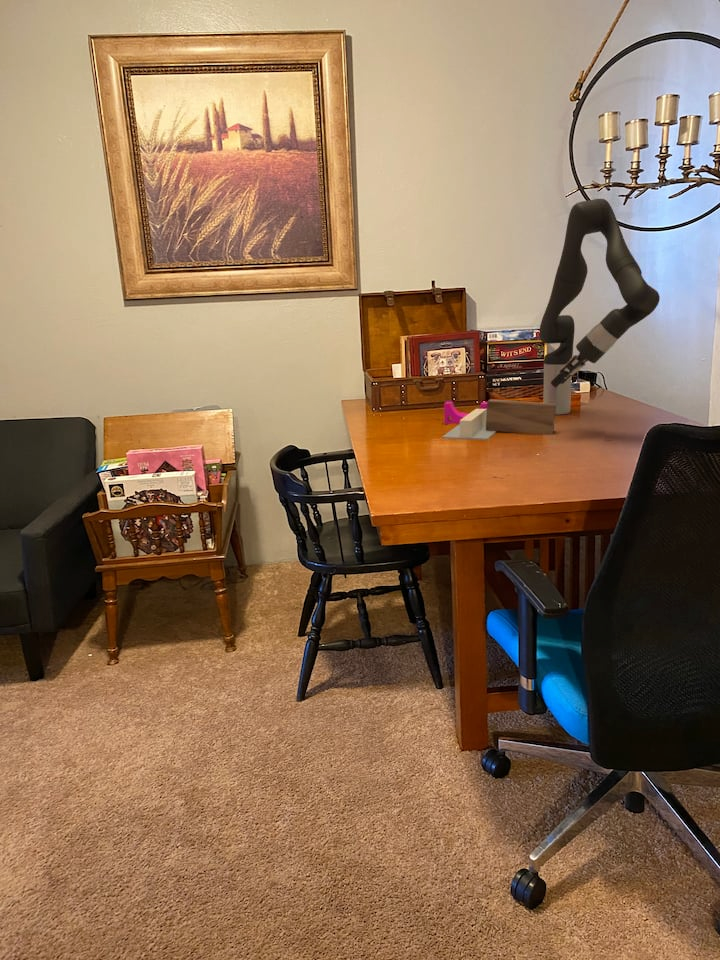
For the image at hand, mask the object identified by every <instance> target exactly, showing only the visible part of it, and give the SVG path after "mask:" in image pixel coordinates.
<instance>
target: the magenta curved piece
mask: <svg viewBox="0 0 720 960" xmlns="http://www.w3.org/2000/svg"><path fill="white" fill-rule="evenodd" d="M443 403H444V404H443V407H444V410H443V412H444V413H443V414H444V415H443V416H444V417H443V418H444V425H445V424H448V425H449V424H460V420H461V419H462V418H464V417H465V416H467V415H468V414H469V413H466V412H463V411H462V412H460V411H458V410H457V409H456V407H455V405H454V401H445V402H443ZM479 409H487V401H482V402H480V407H479Z"/></svg>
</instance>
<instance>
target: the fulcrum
mask: <svg viewBox="0 0 720 960" xmlns="http://www.w3.org/2000/svg"><path fill="white" fill-rule="evenodd" d="M467 414H468V415H467V416H465V417H464V418H462V419H461V420H460V423H458V425H456V426H455V427H454V428H452V429H451V430H449V431H448V432H447V433H446V434H443V436H441V437H442V439H449V440H450V439H453V440H477V441H478V440H479V441H481V440H482V441H488V440H490V438H492V437H493V436H494V435H495V434H496V433H497V432H498V431H490V430H486V416H487V409H480V408H475V409H474V410H472V411H471V412H470V413H467Z"/></svg>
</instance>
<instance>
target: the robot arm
mask: <svg viewBox="0 0 720 960" xmlns="http://www.w3.org/2000/svg"><path fill="white" fill-rule="evenodd" d="M595 233H601V234H602V235H603V237H604V238H605V240H606V251H605V252H606V253H605V264H606V266H607V269H608V271H609V273H610V274H611V276H612V278H613V279H614V281H615V283H616V284H617V287H618V289H619V292H620V294H621V298H622V299H623V300H624V303H626V305H625V306H623V307H622V308H614V309H612V310H611V311H609V312H608V313H607V315H605V317H603V318H602V320H601V321H600V322H599V323H598V324H596V325H595V326H594V327H592V328H591V329H590V331H589V332H588V333H586V334H585V336H583V338H582V339H581V340H580V341H578V343H577V344H576V345H575V348H576V350H577V351H578V352H579V353H578V355H577V354H575V355H573V354H574V338H575V330H576V329H575V319H574V318H573V316H572V315H570V314H569V315H567V314H565V315H564V314H563V315H562V314H561V313H562V312H563V310H564V309H565V308H566V307H567V306H568V305H570V304H571V303H572V302H573V301H574V300H575V299H576V298H577V297H578V296H579V295H580V293H581V292H582V291H583V288H584V286H585V282H586V279H587V276H588V270H589V269H588V265H587V262H586V260H585V258H584V255H583V253H582V244H583V240H584V238H585V236H586V235H589V234H590V235H591V234H595ZM559 259H560V260H559V264H558V265H557V266H558V267H557V269H556V273H555V277H554V280H553V281H554V282H553V283H552V285H553V286H552V289H551V294H550V297H549V301H548V303H547V306H546V308H545V311H544V314H543V316H542V319H541V322H540V325H539V331H538V333H539V339H540V341H541V342H542V343H543V344H548V345H549V344H550V345H551V344H552V345H553V344H559V346H558V348H556V349H555V350H553V351H551V352H549V353H547V354H545V355H544V357H543V396H542V399H543V401H542V403H550V404H556V411H555V415H567V414H570V413H571V405H572V404H571V399H572V398H571V397H572V396H571V395H572V394H571V393H572V376H575V374H576V373H579V371H580V370H581V369H582V368H583V367H585V366H586V362H589V363H592V364H596V363H597V362H598V361H599V360H601V358H602V357H603V356H604V355H606V354H607V352H609V350H610V349H612V347H613V346H614V345H615V344H616V343H617V342H618V340H619V339H620V338H622V337H623V335H624V334H625V333H626V332H627V331H628V330H629V329H631V327H634V325H636V324H638V323H639V322H641V321H642V320H645V318H646V317H648V316H649V315H651V314H652V313H653V312H654V310H656V308H657V307H658V306H659V303H660V299H661V298H660V293H659V292H658V291H657V290H656V289H655V288H653V287H652V286H651V285H649V284H648V282H646V280H645V279H644V277H643V275H642V270H641V267H640V265H639V264H638V262H637V260H636V258H635V257H634V256H633V254H632V253H631V251H630V249H629V247H628V245H627V243H626V241H625V239H624V235H623V233H622V229H621V227H620V225H619V222H618V219H617V217H616V215H615V213H614V210H613V208H612V206H611V203H609V201H608V200H606V199H605V198H595V199H589V200H582V201H579V202H576V203H575V204H574V205H573V206H572V207H571V209H570V212H569V215H568V219H567V224H566V232H565V237H564V243H563V248H562V252H561V255H560V258H559Z"/></svg>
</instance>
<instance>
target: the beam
mask: <svg viewBox="0 0 720 960" xmlns="http://www.w3.org/2000/svg"><path fill="white" fill-rule="evenodd" d="M486 402H487V416H486V430H490V431H497V432H500V433H501V432H503V433H513V434H532V435H533V434H535V435H536V434H537V435H538V434H540V435H552V434H553V433H554V431H555V418H556V414H555V411H556V404H550V403H543V402H535V401H521V400H509V399H508V400H507V399H506V400H505V399H493V398H490V399H488V400H487V401H486Z"/></svg>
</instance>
